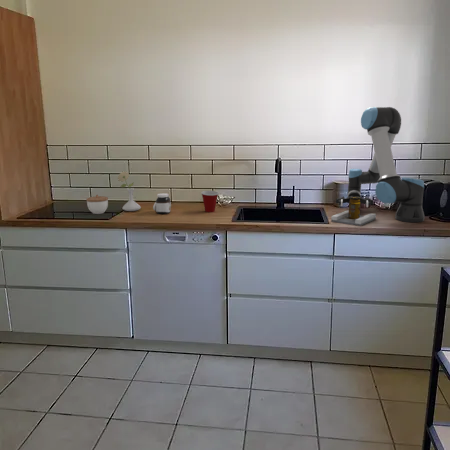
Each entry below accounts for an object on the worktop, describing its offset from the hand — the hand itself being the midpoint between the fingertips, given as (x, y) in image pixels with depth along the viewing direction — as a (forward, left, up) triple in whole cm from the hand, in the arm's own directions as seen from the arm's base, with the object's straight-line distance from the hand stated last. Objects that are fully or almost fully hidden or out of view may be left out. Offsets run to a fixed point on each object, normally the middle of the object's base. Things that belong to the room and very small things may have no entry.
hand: (354, 204), depth 249 cm
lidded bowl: (+133, +74, -10) cm, 152 cm away
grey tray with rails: (+1, -2, -9) cm, 10 cm away
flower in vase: (+122, +58, -10) cm, 135 cm away
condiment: (+2, -2, -9) cm, 9 cm away
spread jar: (+102, +50, -10) cm, 113 cm away
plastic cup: (+81, +29, -10) cm, 86 cm away
